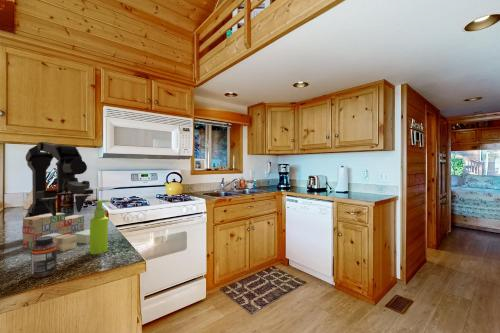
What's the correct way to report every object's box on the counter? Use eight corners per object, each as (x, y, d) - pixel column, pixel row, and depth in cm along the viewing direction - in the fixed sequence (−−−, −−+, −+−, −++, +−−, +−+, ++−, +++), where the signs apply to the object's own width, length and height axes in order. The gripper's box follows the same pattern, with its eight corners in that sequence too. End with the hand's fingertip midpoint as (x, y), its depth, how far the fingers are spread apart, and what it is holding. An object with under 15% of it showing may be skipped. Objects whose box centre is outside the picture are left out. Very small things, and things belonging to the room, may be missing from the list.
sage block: (73, 242, 101) (73, 233, 101) (90, 237, 109) (90, 228, 109) (87, 244, 99) (87, 235, 99) (103, 238, 106) (103, 230, 106)
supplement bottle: (41, 269, 74) (42, 234, 74) (61, 269, 74) (62, 234, 74) (25, 278, 68) (25, 240, 68) (46, 278, 68) (47, 240, 68)
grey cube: (40, 248, 92) (40, 236, 92) (54, 244, 97) (54, 233, 97) (48, 250, 91) (48, 237, 91) (62, 246, 96) (62, 234, 96)
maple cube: (54, 250, 91) (54, 237, 91) (68, 246, 96) (68, 234, 96) (63, 251, 90) (63, 239, 90) (76, 247, 94) (76, 235, 94)
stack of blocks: (74, 233, 113) (74, 208, 113) (84, 234, 112) (84, 209, 112) (21, 248, 93) (22, 217, 93) (33, 249, 91) (33, 219, 91)
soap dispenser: (113, 249, 93) (114, 199, 93) (96, 255, 86) (97, 202, 87) (102, 247, 95) (103, 199, 95) (85, 253, 88) (86, 201, 88)
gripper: (53, 174, 82) (54, 218, 82) (102, 174, 100) (103, 210, 99) (33, 176, 86) (34, 218, 85) (83, 175, 103) (84, 210, 103)
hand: (67, 214), depth 93 cm, fingers open, 9 cm apart
